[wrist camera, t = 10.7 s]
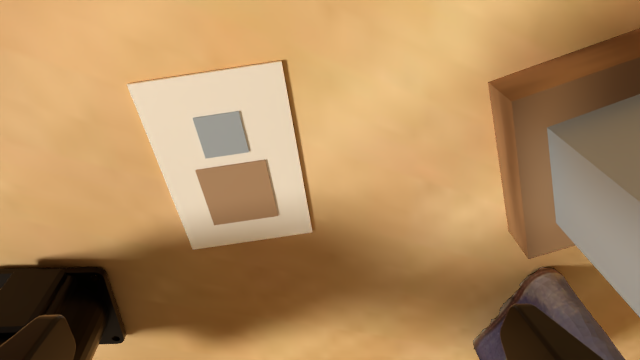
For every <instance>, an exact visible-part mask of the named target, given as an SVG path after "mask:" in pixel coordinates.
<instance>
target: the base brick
mask: <svg viewBox="0 0 640 360" xmlns="http://www.w3.org/2000/svg"><path fill="white" fill-rule="evenodd" d="M488 85H489V93H490V100H491V107H492V114H493V122H494V129H495V136H496V143H497V151H498V158H499V165H500V173H501V180H502V187H503V194H504V202H505V209H506V216H507V223H508V231H509V232H510V234H511V235H512V237H513V238H514V239H515V241H516V242H517V244H518V245H519V246H520V248H521V249H522V251H523V252H524V253H525V255H526V256H527V258H528V259H531V258H534V257H537V256H541V255H544V254H548V253H551V252H554V251H558V250H561V249H564V248H568V247H571V246H575V244H574V243H573V242H572V240H571V239H570V238H569V237H568V236H567V235H566V234H565V232H564V231H563V230H562V229H561V228H560V227H559V226H558V225H557V223H556V216H555V206H554V195H553V185H552V175H551V164H550V154H549V144H548V133H547V127H550V126H552V125H555V124H558V123H561V122H564V121H566V120H569V119H572V118H575V117H577V116H580V115H583V114H586V113H589V112H591V111H594V110H597V109H600V108H602V107H605V106H608V105H611V104H614V103H616V102H619V101H622V100H625V99H627V98H630V97H633V96H636V95H639V94H640V28H639V29H637V30H634V31H631V32H628V33H625V34H622V35H620V36H617V37H614V38H611V39H608V40H606V41H603V42H600V43H597V44H594V45H592V46H589V47H586V48H583V49H580V50H578V51H575V52H572V53H569V54H566V55H563V56H561V57H558V58H555V59H552V60H549V61H547V62H544V63H541V64H538V65H535V66H533V67H530V68H527V69H524V70H521V71H518V72H516V73H513V74H510V75H507V76H504V77H502V78H499V79H496V80H493V81H490V82H488Z"/></svg>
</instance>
